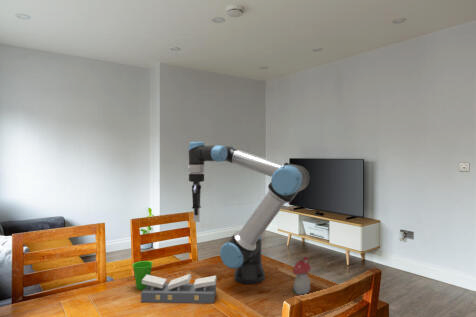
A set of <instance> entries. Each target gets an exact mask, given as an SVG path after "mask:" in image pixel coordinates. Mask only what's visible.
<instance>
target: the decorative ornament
mask: <svg viewBox="0 0 476 317" xmlns="http://www.w3.org/2000/svg"><path fill="white" fill-rule="evenodd" d="M308 261H309V257H308V256H304V257H303V259H302V260H299V261H297V262H296V263H295V264H294V266H293V269H292V273H293V274H294V275H296V276H295V278H294V281H293V287H292V291H293V293H294V294H295V295H299V296H300V295H302V296H303V294H304V295H306V294H307V293H309V292H310V290H311V281H310V278H309V275H308V274H309V273H310V272H311V271H312V270H311V265H310V264H309V263H308Z"/></svg>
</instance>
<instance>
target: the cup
mask: <svg viewBox="0 0 476 317" xmlns="http://www.w3.org/2000/svg"><path fill="white" fill-rule="evenodd" d="M153 265H154V263H153V261H150V260H142V261H141V260H139V261H136V262H134V263H133V264H132V268H133V275H134V281H135V287H136V289H137V290H138V291H143V290H144V288H145V287H146V286H147V285H146V284H141V283H142V279H143V278H144V277H145V276H146V275H151V274H152V268H153ZM151 276H152V275H151Z"/></svg>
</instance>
